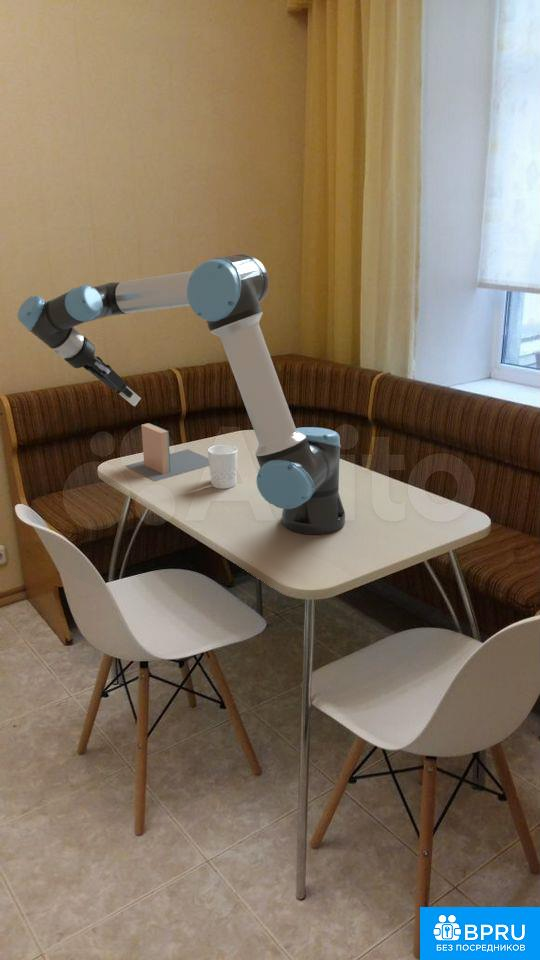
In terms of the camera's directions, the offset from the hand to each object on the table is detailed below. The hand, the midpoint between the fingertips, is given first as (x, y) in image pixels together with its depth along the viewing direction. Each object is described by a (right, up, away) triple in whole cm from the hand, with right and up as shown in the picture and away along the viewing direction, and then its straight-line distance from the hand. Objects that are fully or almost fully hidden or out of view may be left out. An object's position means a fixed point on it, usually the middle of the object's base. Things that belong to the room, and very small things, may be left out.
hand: (136, 401), depth 201 cm
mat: (+7, -17, +17) cm, 25 cm away
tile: (+3, -17, +14) cm, 23 cm away
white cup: (+23, -22, +4) cm, 32 cm away
